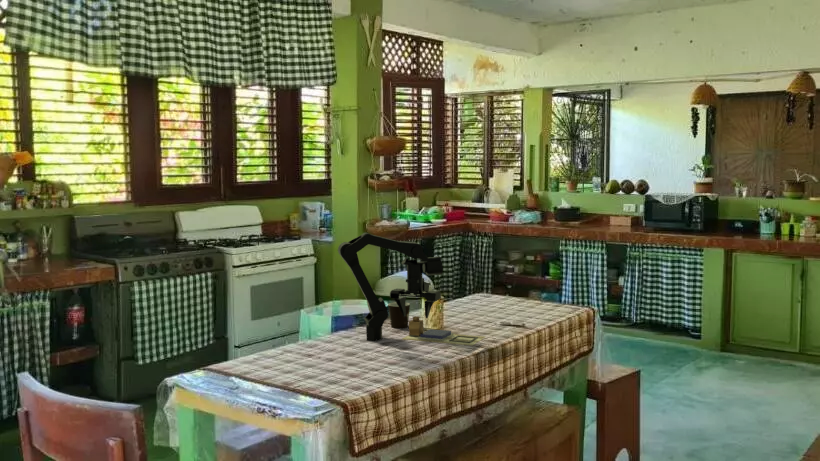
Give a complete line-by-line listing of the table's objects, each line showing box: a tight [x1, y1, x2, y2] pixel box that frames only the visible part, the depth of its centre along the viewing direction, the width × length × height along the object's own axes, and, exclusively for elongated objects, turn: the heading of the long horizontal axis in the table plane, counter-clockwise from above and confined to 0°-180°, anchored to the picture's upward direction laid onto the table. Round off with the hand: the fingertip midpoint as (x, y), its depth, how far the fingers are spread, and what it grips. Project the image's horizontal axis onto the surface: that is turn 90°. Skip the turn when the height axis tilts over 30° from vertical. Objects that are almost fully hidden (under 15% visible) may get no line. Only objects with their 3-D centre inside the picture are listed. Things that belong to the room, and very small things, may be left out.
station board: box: [401, 331, 486, 347], centre depth 280 cm, size 14×28×1 cm, turn 64°
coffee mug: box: [387, 301, 411, 330], centre depth 302 cm, size 12×9×10 cm
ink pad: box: [418, 328, 455, 341], centre depth 281 cm, size 10×10×2 cm
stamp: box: [408, 316, 424, 337], centre depth 285 cm, size 4×4×7 cm
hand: (415, 317), depth 284 cm, fingers open, 9 cm apart
